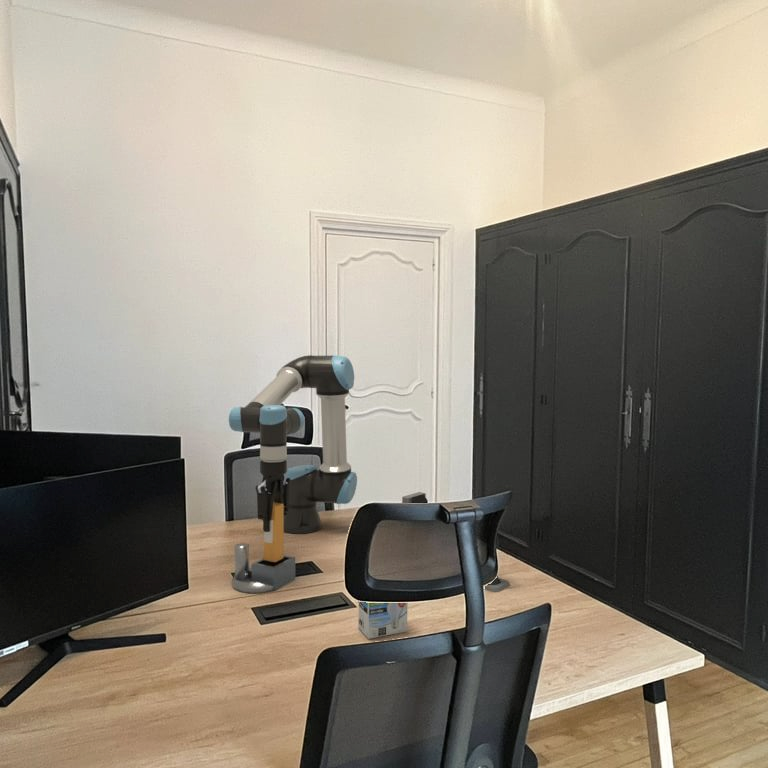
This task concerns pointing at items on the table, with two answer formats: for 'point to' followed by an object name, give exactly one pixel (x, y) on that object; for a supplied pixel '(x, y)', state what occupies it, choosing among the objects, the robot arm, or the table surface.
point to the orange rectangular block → (276, 535)
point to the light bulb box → (382, 619)
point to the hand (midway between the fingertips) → (273, 539)
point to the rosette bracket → (261, 572)
